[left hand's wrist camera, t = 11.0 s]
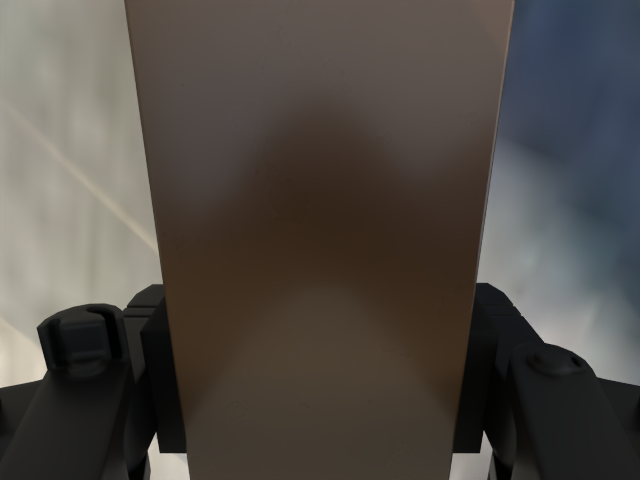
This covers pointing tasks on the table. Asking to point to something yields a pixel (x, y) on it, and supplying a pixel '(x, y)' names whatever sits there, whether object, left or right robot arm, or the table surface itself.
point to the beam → (319, 223)
